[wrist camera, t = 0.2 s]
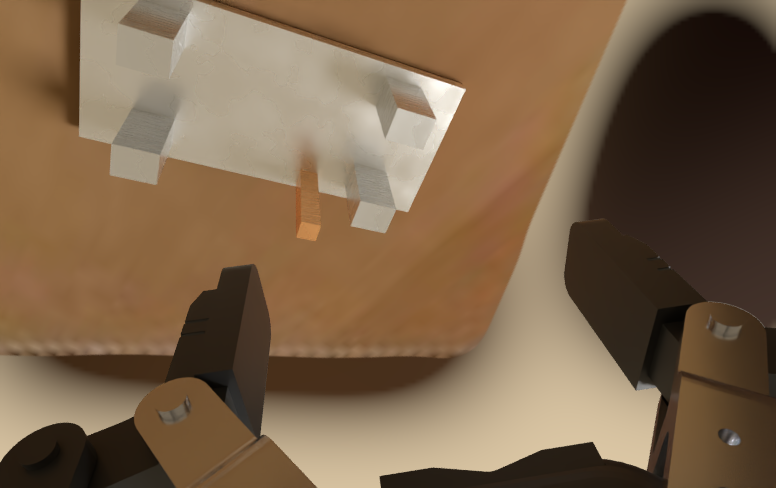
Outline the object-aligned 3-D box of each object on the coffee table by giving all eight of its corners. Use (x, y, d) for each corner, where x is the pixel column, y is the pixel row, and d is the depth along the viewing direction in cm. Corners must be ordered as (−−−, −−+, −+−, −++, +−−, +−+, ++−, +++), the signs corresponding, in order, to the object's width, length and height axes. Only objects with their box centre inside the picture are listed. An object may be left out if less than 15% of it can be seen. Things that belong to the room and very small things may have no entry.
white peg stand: (87, -42, 26) (33, -8, 21) (461, 83, 33) (493, 132, 28) (84, 129, 32) (41, 190, 26) (405, 204, 39) (423, 264, 33)
